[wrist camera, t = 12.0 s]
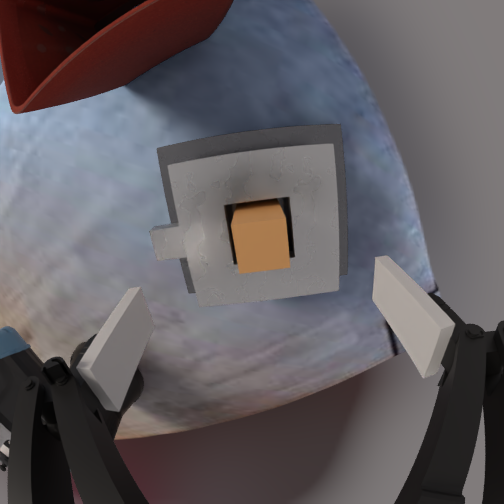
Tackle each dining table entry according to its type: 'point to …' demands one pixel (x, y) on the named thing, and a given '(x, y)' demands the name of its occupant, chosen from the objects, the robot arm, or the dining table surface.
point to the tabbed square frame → (252, 189)
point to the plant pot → (93, 44)
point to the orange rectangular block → (260, 236)
